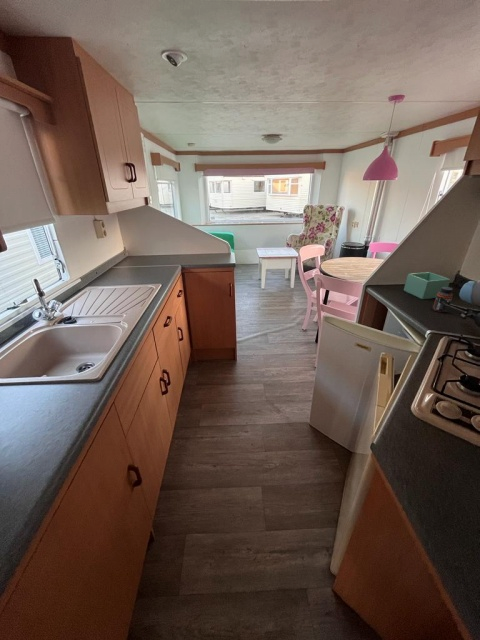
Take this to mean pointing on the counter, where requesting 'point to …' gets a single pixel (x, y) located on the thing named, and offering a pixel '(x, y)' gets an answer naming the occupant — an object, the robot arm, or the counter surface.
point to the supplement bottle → (444, 293)
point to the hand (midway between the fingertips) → (457, 300)
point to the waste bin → (425, 284)
